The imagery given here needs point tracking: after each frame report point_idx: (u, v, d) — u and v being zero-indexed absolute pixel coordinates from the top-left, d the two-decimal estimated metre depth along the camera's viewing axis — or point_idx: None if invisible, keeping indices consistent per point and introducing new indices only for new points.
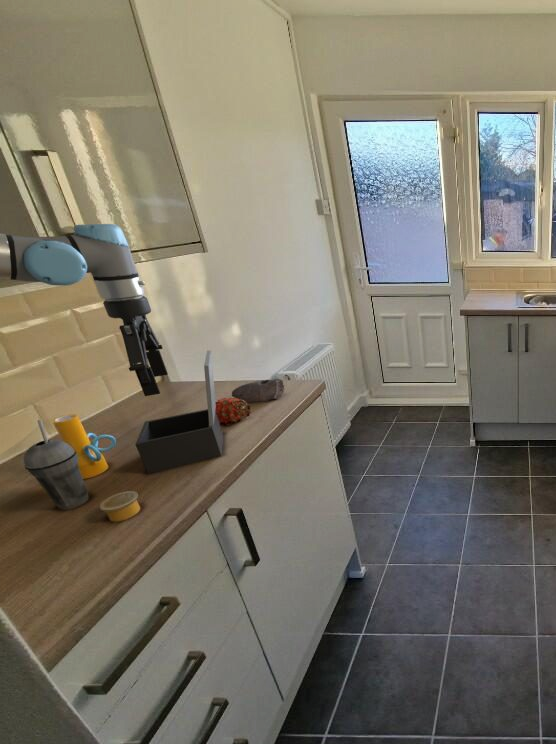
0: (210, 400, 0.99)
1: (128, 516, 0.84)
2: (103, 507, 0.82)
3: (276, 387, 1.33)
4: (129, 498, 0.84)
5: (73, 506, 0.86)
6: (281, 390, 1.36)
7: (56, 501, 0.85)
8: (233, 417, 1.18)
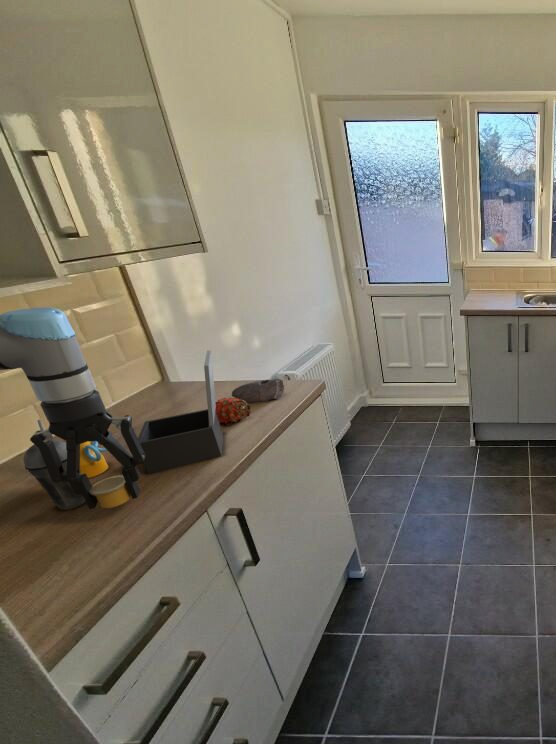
0: (210, 400, 0.99)
1: (118, 500, 0.82)
2: (92, 491, 0.80)
3: (276, 387, 1.33)
4: (119, 481, 0.82)
5: (73, 506, 0.86)
6: (281, 390, 1.36)
7: (56, 501, 0.85)
8: (233, 417, 1.18)
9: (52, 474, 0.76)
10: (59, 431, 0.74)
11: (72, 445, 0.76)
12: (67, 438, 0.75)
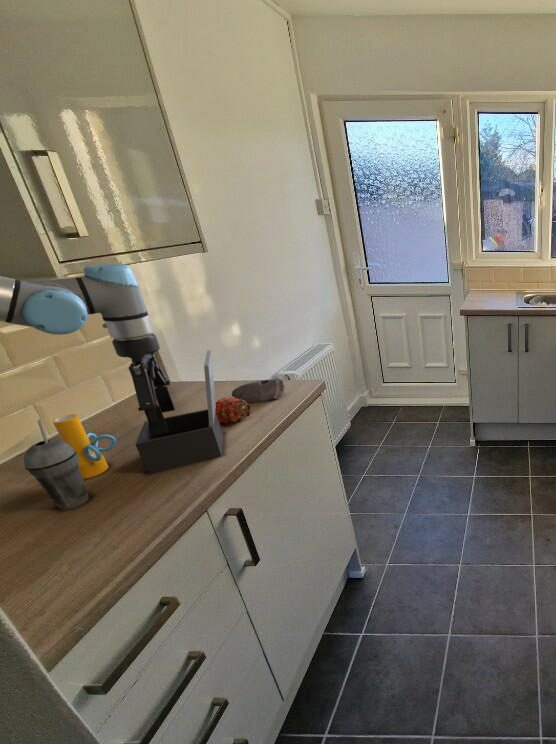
0: (210, 400, 0.99)
1: None
2: None
3: (276, 387, 1.33)
4: None
5: (73, 506, 0.86)
6: (281, 390, 1.36)
7: (56, 501, 0.85)
8: (233, 417, 1.18)
9: (153, 400, 0.91)
10: (146, 365, 0.93)
11: (154, 374, 0.94)
12: (152, 367, 0.94)
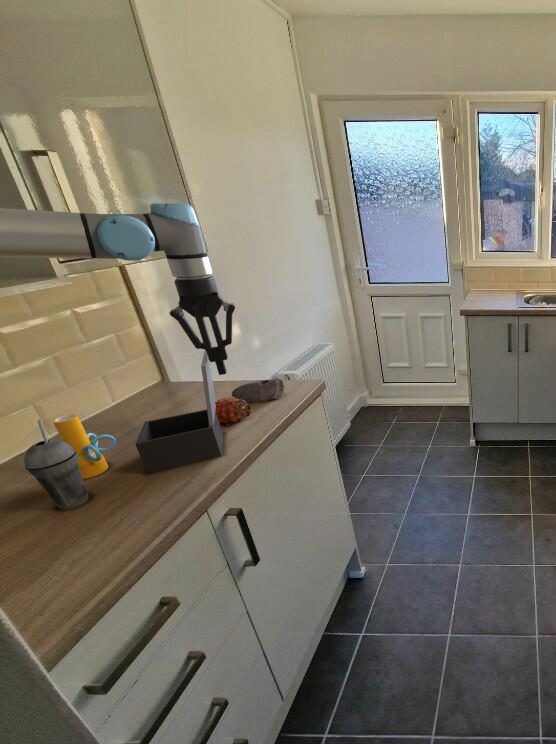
0: (209, 400, 0.99)
1: None
2: None
3: (276, 387, 1.33)
4: None
5: (73, 506, 0.86)
6: (281, 390, 1.36)
7: (56, 501, 0.85)
8: (233, 417, 1.18)
9: (194, 342, 0.97)
10: (186, 305, 0.94)
11: (199, 318, 0.96)
12: (194, 312, 0.95)
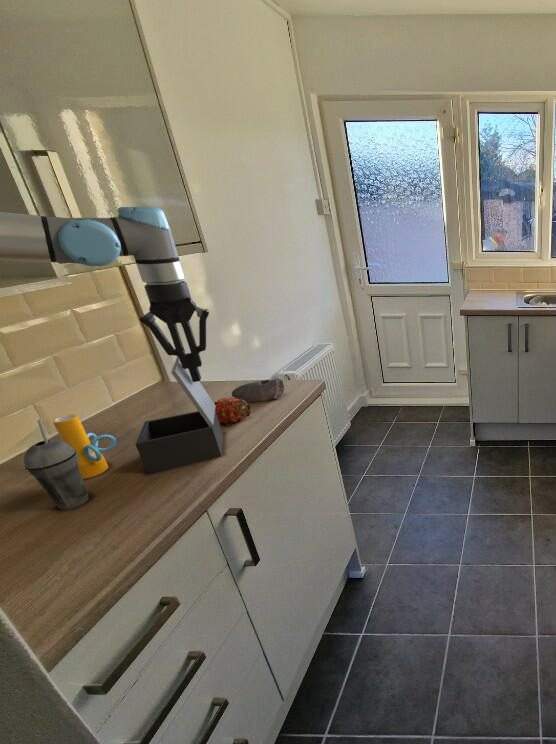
0: (196, 403, 0.97)
1: None
2: None
3: (276, 387, 1.33)
4: None
5: (73, 506, 0.86)
6: (281, 390, 1.36)
7: (56, 501, 0.85)
8: (233, 417, 1.18)
9: (166, 349, 0.95)
10: (157, 311, 0.92)
11: (171, 324, 0.94)
12: (165, 318, 0.93)
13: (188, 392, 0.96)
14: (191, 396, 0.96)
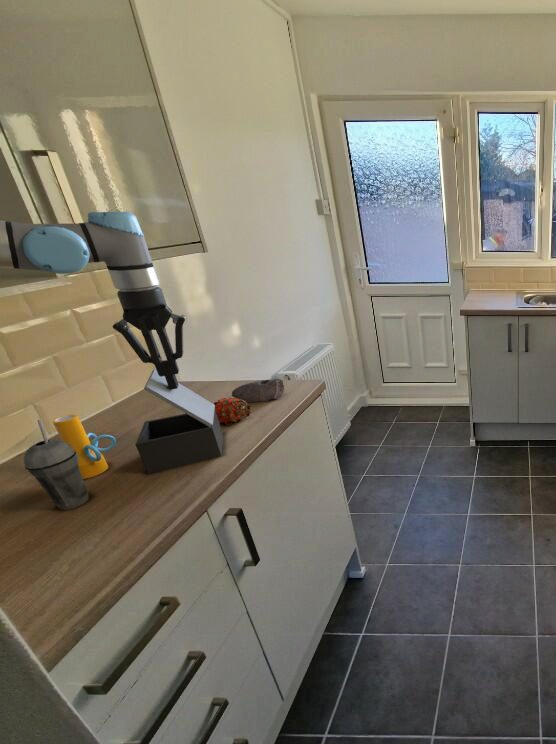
0: (185, 409, 0.97)
1: None
2: None
3: (276, 387, 1.33)
4: None
5: (73, 506, 0.86)
6: (281, 390, 1.36)
7: (56, 501, 0.85)
8: (233, 417, 1.18)
9: (140, 356, 0.93)
10: (131, 318, 0.90)
11: (145, 331, 0.92)
12: (139, 325, 0.91)
13: (171, 402, 0.95)
14: (176, 405, 0.96)
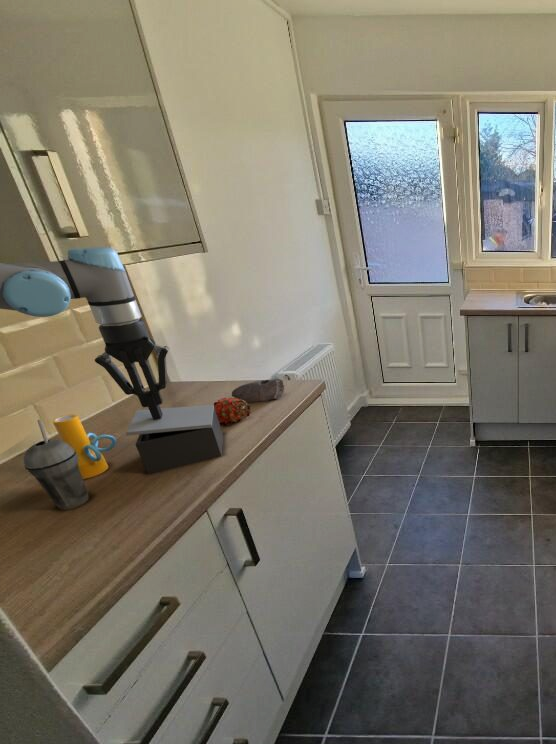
0: (176, 428, 0.97)
1: None
2: None
3: (276, 387, 1.33)
4: None
5: (73, 506, 0.86)
6: (281, 390, 1.36)
7: (56, 501, 0.85)
8: (233, 417, 1.18)
9: (123, 388, 0.94)
10: (113, 351, 0.90)
11: (128, 363, 0.92)
12: (122, 358, 0.91)
13: (159, 430, 0.95)
14: (165, 429, 0.96)
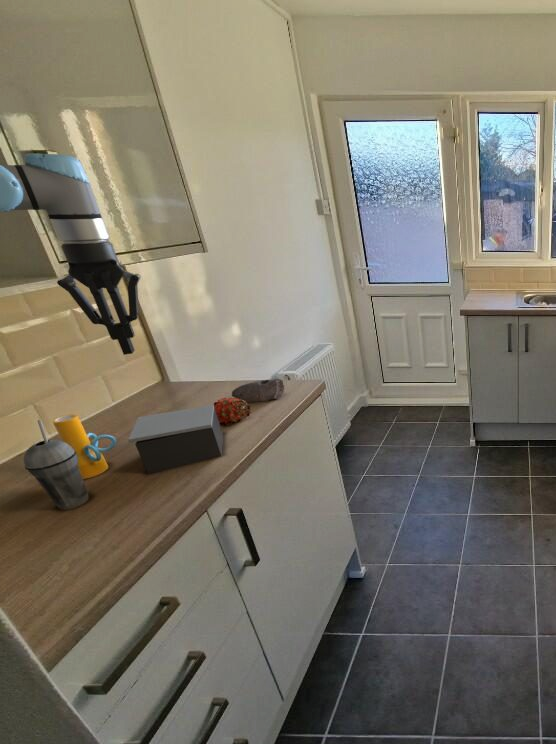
0: (176, 431, 0.97)
1: None
2: None
3: (276, 387, 1.33)
4: None
5: (73, 506, 0.86)
6: (281, 390, 1.36)
7: (56, 501, 0.85)
8: (233, 417, 1.18)
9: (90, 317, 0.87)
10: (78, 274, 0.84)
11: (94, 288, 0.85)
12: (87, 282, 0.84)
13: (160, 434, 0.96)
14: (166, 433, 0.96)
